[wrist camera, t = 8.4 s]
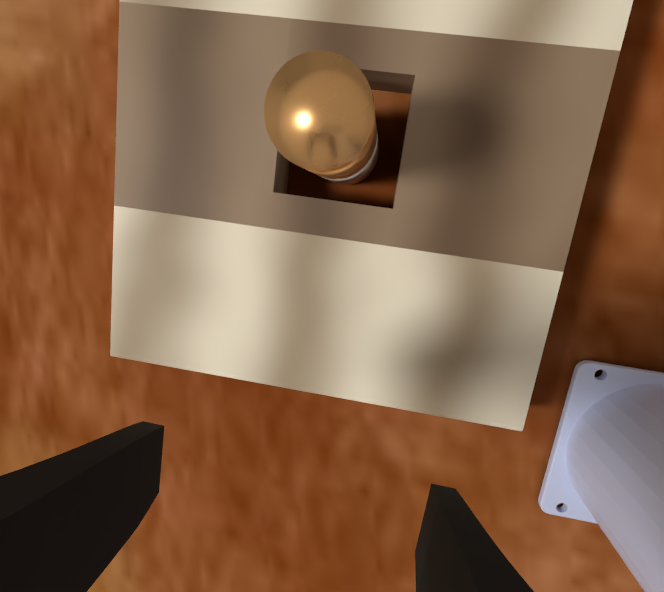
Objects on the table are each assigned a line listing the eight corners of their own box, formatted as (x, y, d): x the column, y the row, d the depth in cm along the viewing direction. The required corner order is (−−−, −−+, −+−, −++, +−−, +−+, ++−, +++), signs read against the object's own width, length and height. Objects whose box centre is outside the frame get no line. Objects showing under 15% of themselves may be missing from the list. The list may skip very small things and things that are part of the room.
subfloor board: (606, -8, 17) (645, -46, 14) (505, 405, 20) (522, 431, 18) (156, -47, 18) (121, -87, 16) (140, 340, 22) (110, 355, 20)
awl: (385, 121, 18) (384, 59, 11) (371, 190, 19) (361, 178, 11) (319, 110, 19) (272, 42, 11) (308, 178, 19) (257, 159, 12)
